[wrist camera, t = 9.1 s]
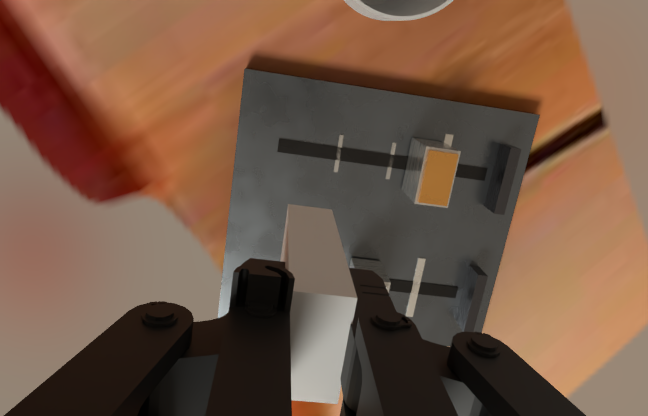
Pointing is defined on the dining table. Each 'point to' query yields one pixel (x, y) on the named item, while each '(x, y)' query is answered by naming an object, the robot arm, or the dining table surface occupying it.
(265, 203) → the console
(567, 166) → the dining table surface
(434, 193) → the near fader
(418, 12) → the cup
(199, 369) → the robot arm
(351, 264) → the far fader
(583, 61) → the dining table surface
